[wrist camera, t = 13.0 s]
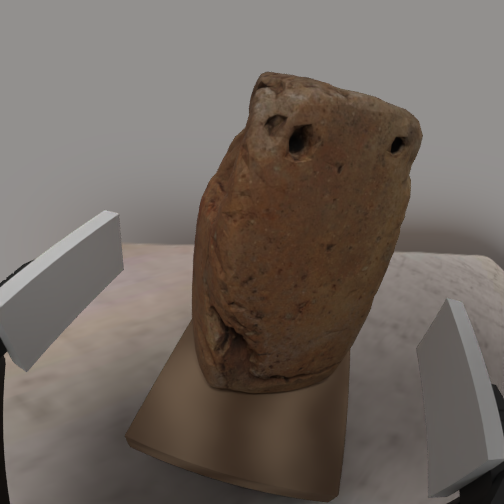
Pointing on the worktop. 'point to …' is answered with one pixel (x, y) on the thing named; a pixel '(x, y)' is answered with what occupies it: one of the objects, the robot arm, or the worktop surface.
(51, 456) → the worktop surface
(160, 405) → the slab
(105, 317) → the worktop surface
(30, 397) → the worktop surface
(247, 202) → the block
